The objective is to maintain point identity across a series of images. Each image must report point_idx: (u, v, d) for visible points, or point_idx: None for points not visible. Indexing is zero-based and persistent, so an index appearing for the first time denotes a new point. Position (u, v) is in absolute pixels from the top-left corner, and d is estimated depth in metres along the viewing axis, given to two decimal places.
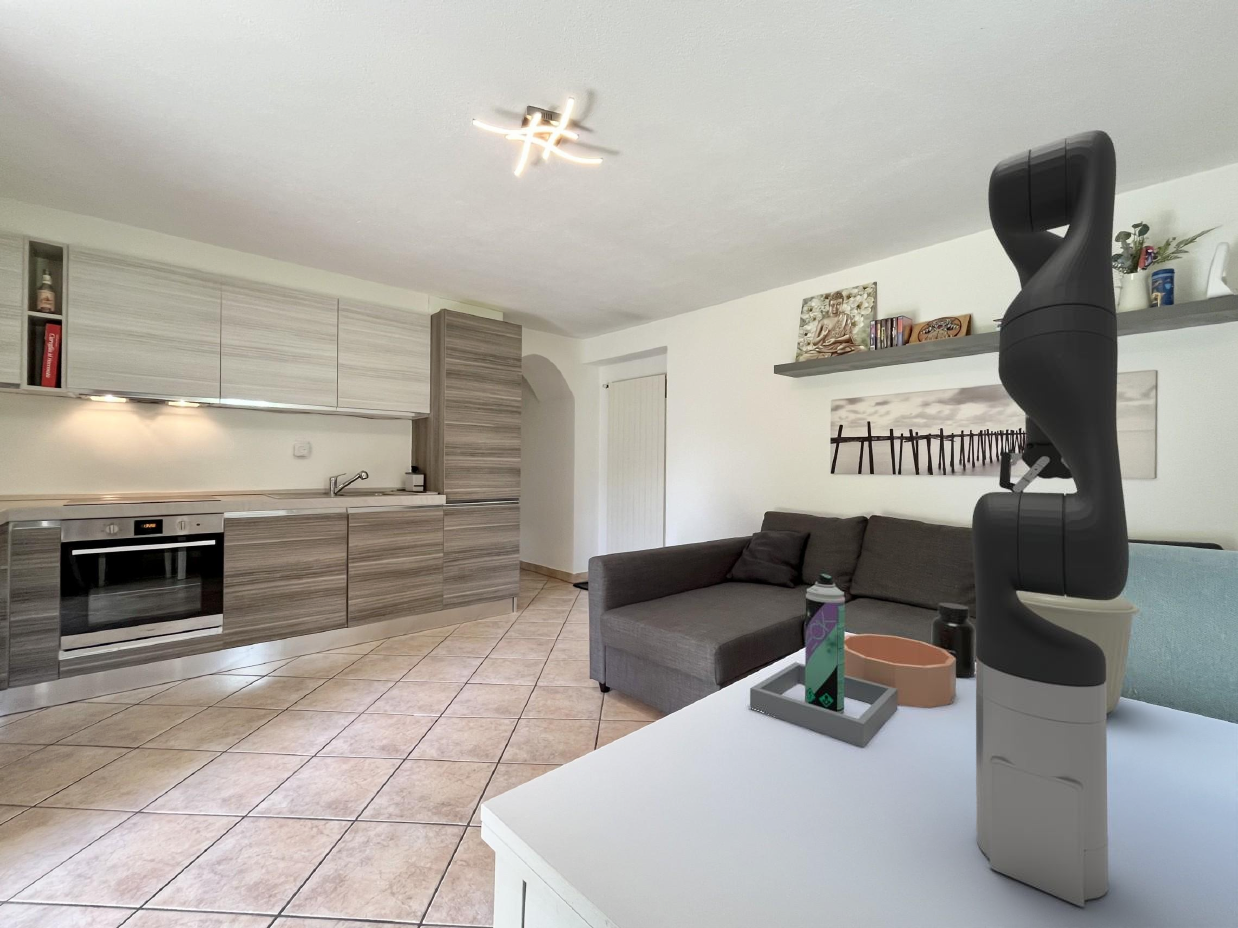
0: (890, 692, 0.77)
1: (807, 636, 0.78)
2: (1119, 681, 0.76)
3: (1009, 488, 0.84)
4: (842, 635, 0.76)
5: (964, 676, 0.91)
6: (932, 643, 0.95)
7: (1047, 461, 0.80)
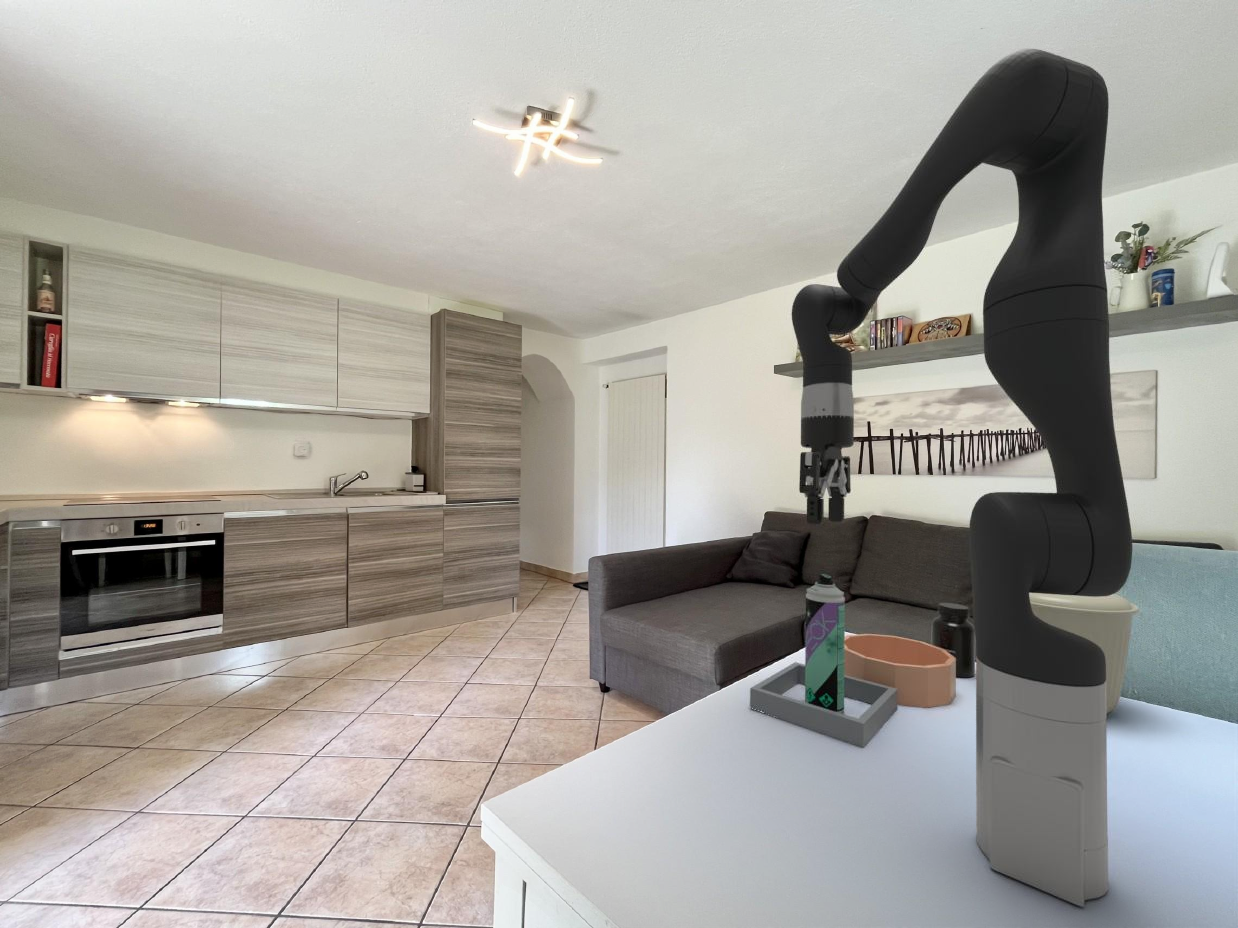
0: (890, 692, 0.77)
1: (807, 636, 0.78)
2: (1119, 681, 0.76)
3: (816, 493, 0.74)
4: (842, 635, 0.76)
5: (964, 676, 0.91)
6: (932, 643, 0.95)
7: (837, 464, 0.77)
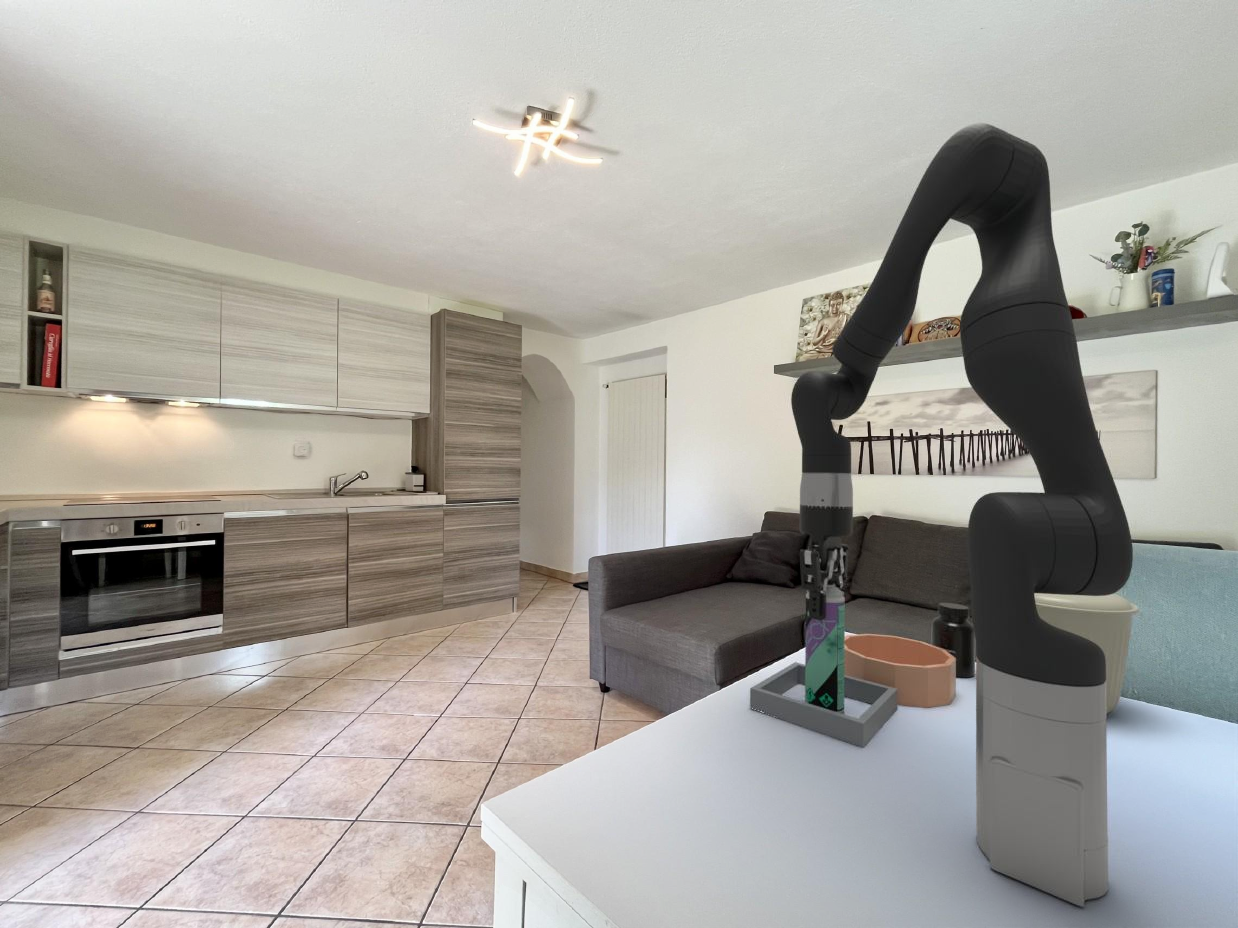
0: (890, 692, 0.77)
1: (807, 636, 0.78)
2: (1119, 681, 0.76)
3: None
4: (842, 635, 0.76)
5: (964, 676, 0.91)
6: (932, 643, 0.95)
7: (836, 554, 0.76)
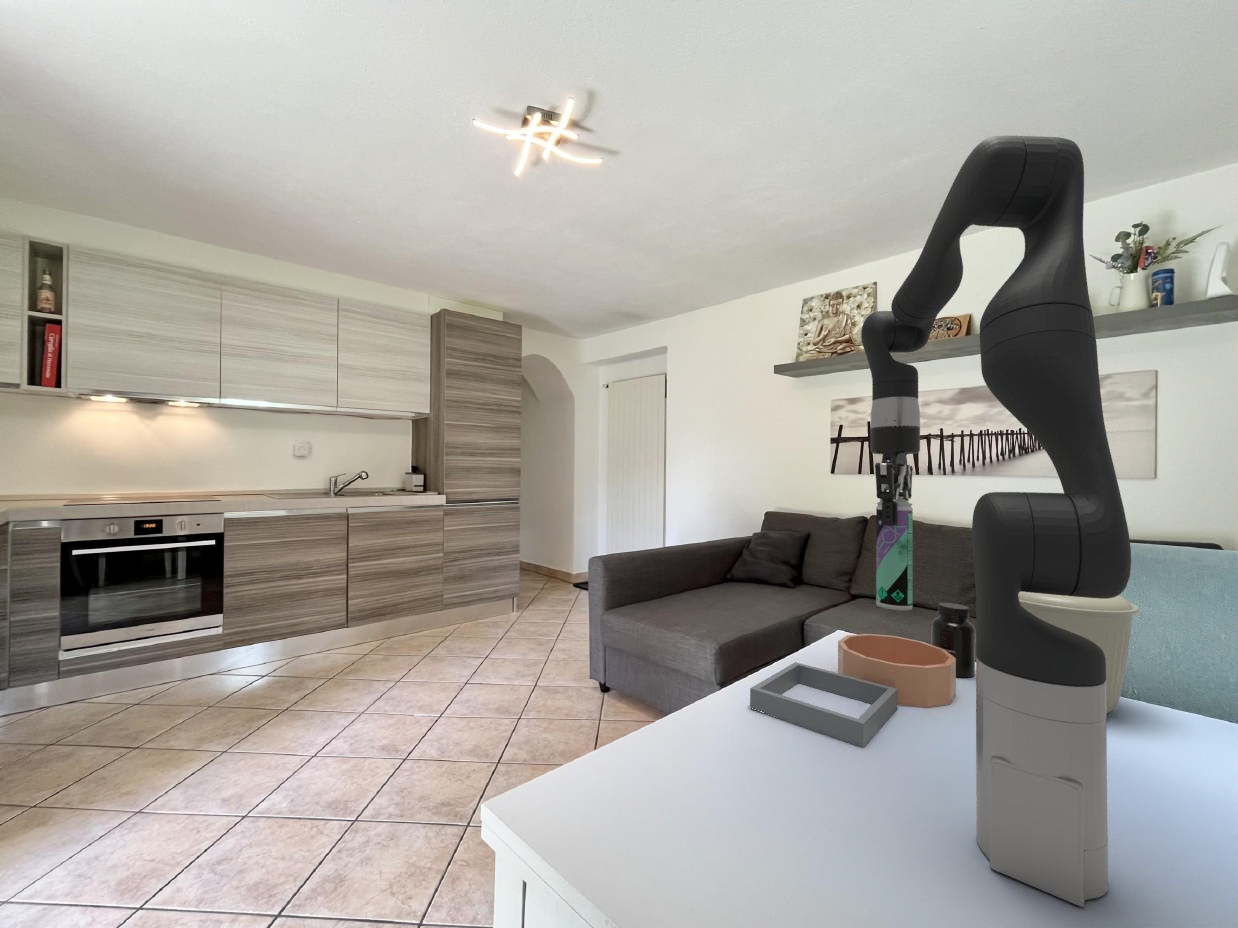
0: (890, 692, 0.77)
1: (879, 542, 0.88)
2: (1119, 681, 0.76)
3: (891, 499, 0.85)
4: (911, 539, 0.86)
5: (964, 676, 0.91)
6: (932, 643, 0.95)
7: (905, 469, 0.87)
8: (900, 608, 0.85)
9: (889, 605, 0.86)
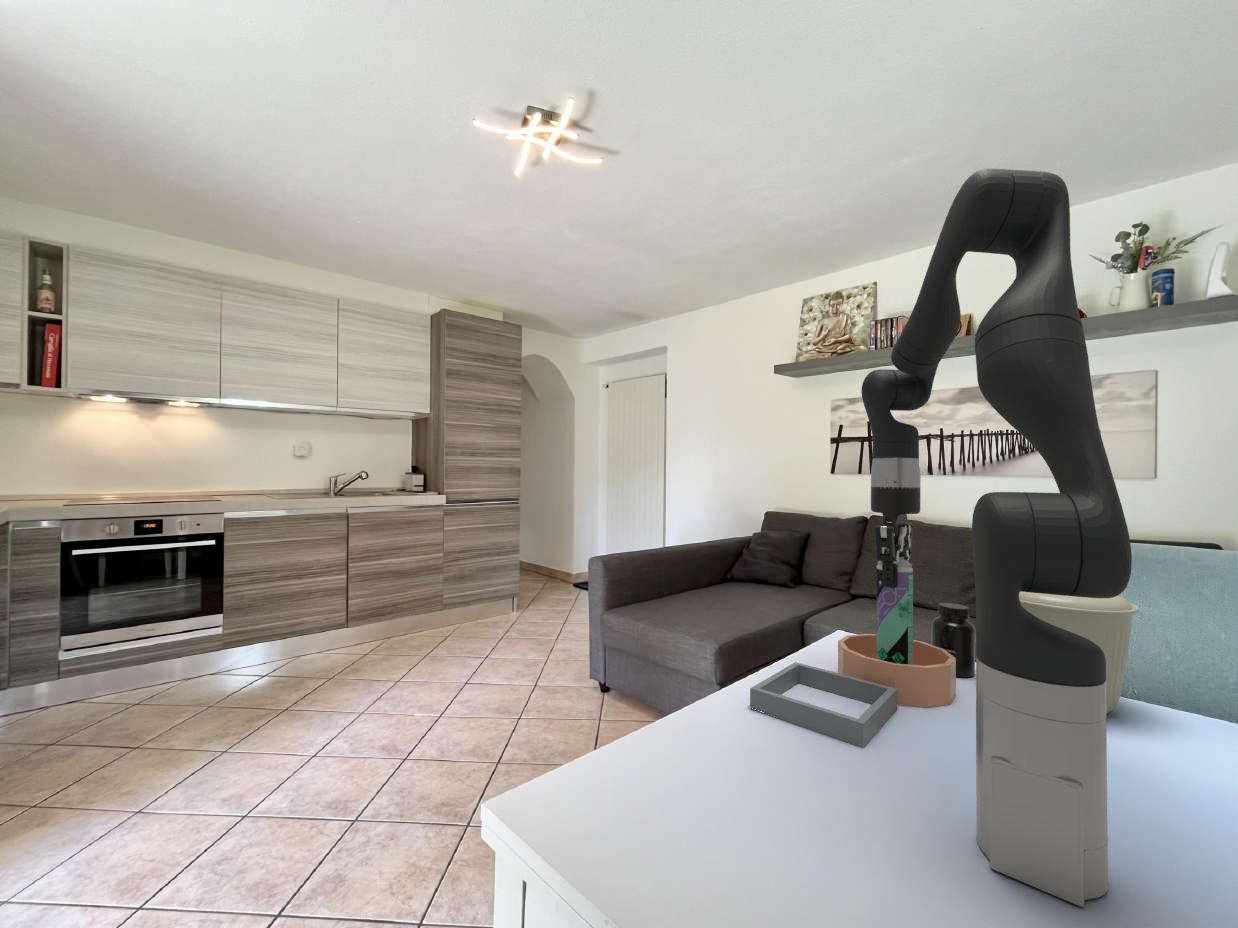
0: (890, 692, 0.77)
1: (879, 603, 0.88)
2: (1119, 681, 0.76)
3: (892, 561, 0.84)
4: (911, 601, 0.86)
5: (964, 676, 0.91)
6: (932, 643, 0.95)
7: (906, 530, 0.86)
8: None
9: None
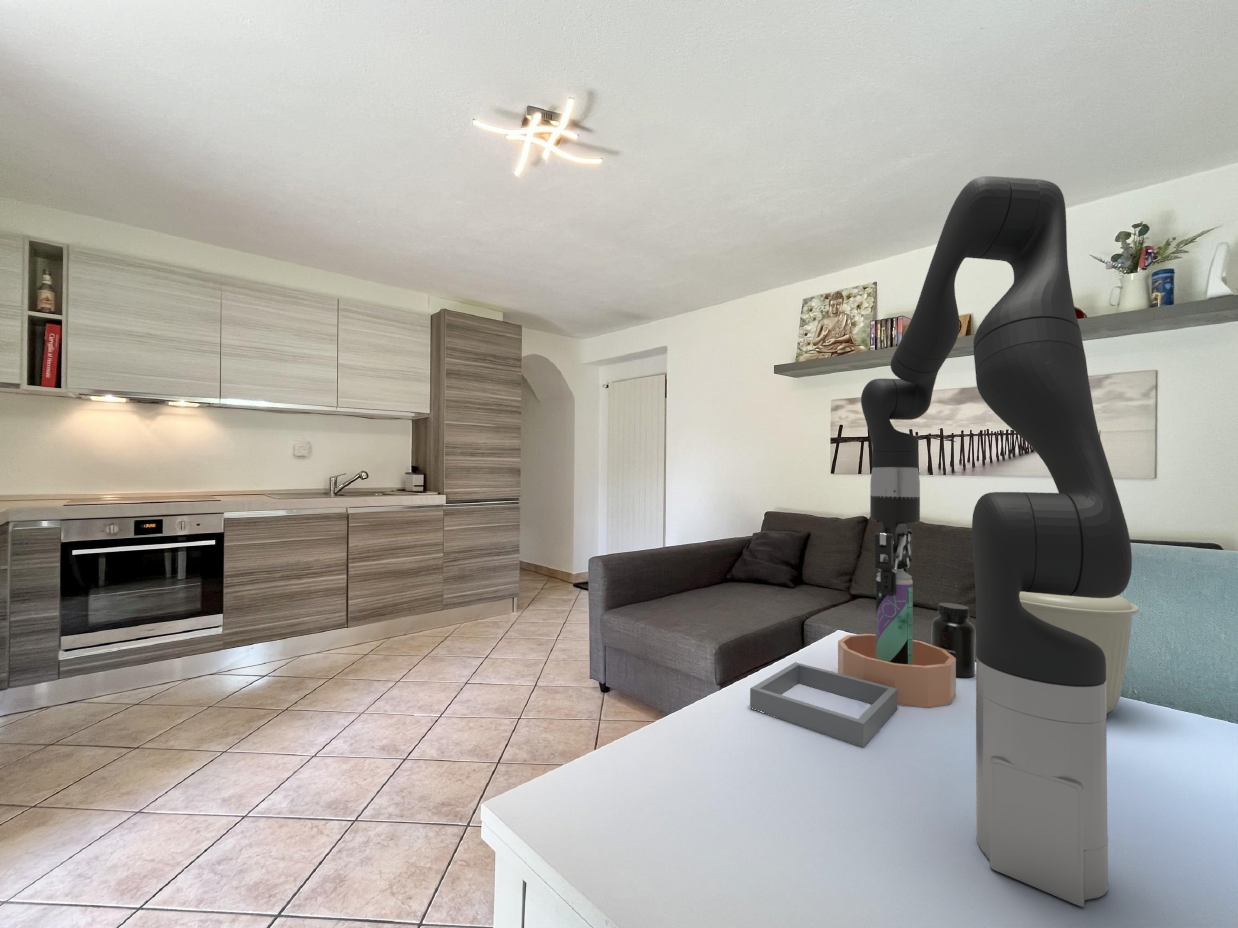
0: (890, 692, 0.77)
1: (879, 615, 0.87)
2: (1119, 681, 0.76)
3: (890, 569, 0.84)
4: (911, 613, 0.86)
5: (964, 676, 0.91)
6: (932, 643, 0.95)
7: (905, 539, 0.86)
8: None
9: None
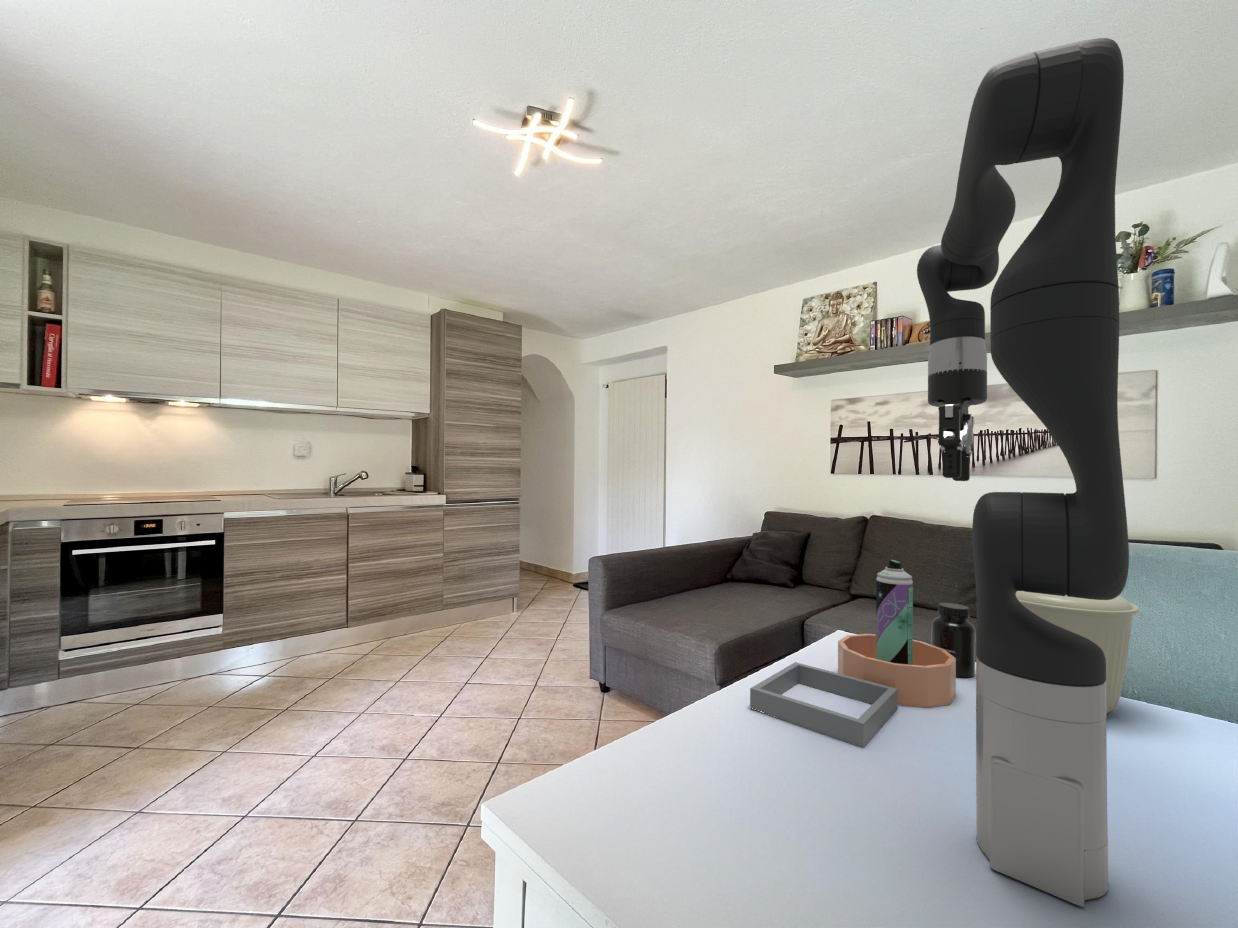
0: (890, 692, 0.77)
1: (879, 615, 0.87)
2: (1119, 681, 0.76)
3: (956, 446, 0.73)
4: (911, 613, 0.86)
5: (964, 676, 0.91)
6: (932, 643, 0.95)
7: (971, 419, 0.76)
8: None
9: None
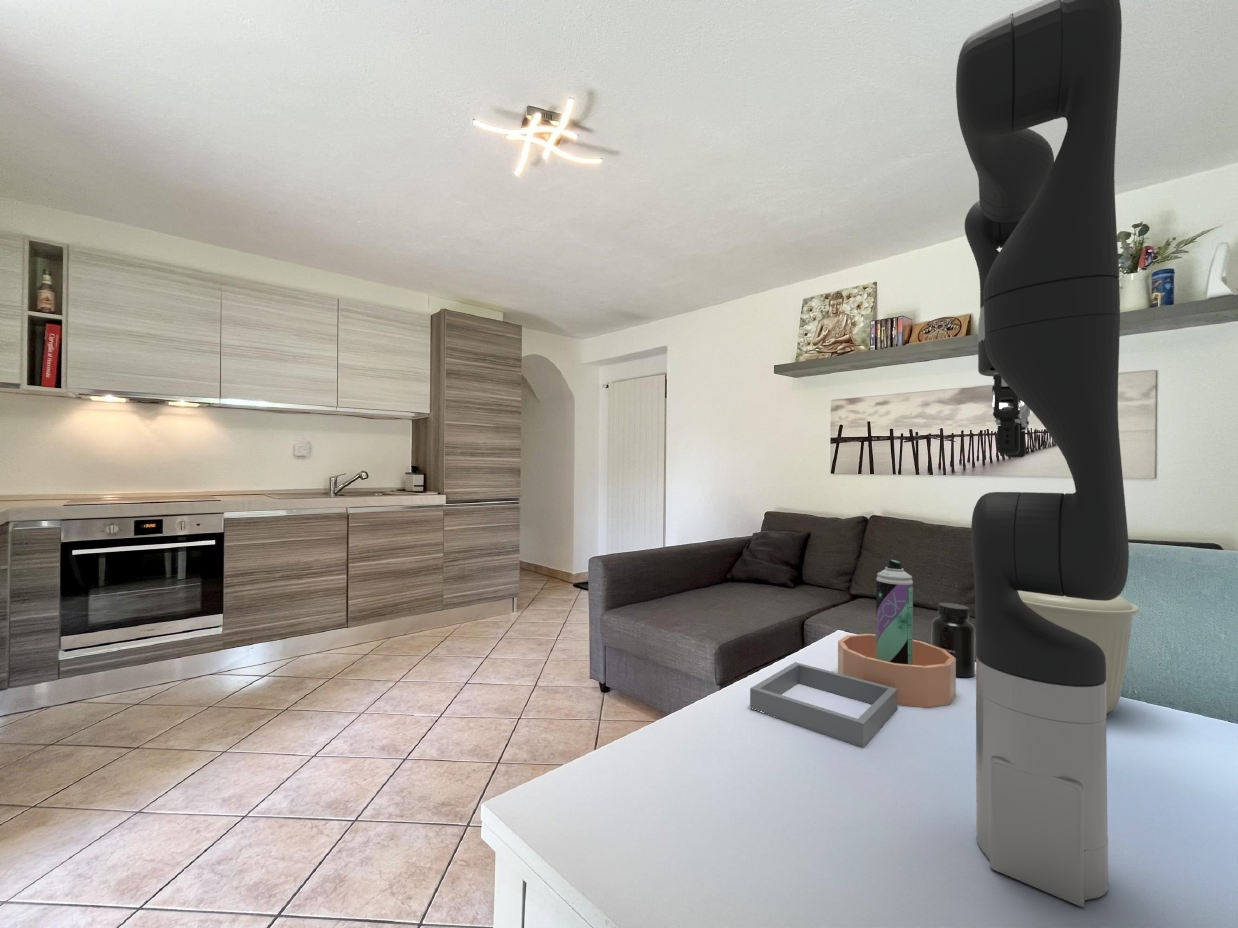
0: (890, 692, 0.77)
1: (879, 615, 0.87)
2: (1119, 681, 0.76)
3: (1014, 418, 0.65)
4: (911, 613, 0.86)
5: (964, 676, 0.91)
6: (932, 643, 0.95)
7: None
8: None
9: None
